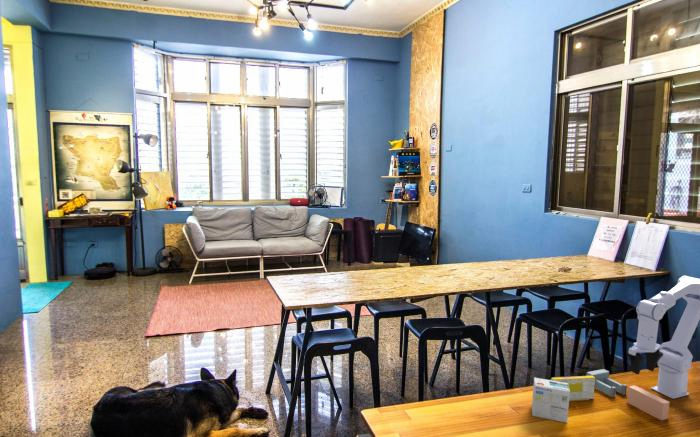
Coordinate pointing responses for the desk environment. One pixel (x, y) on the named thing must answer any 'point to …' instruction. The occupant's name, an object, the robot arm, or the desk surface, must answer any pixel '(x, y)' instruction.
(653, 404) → the salmon pink block
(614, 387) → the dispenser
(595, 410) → the desk surface
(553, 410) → the light bulb box
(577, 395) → the candy box
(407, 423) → the desk surface
